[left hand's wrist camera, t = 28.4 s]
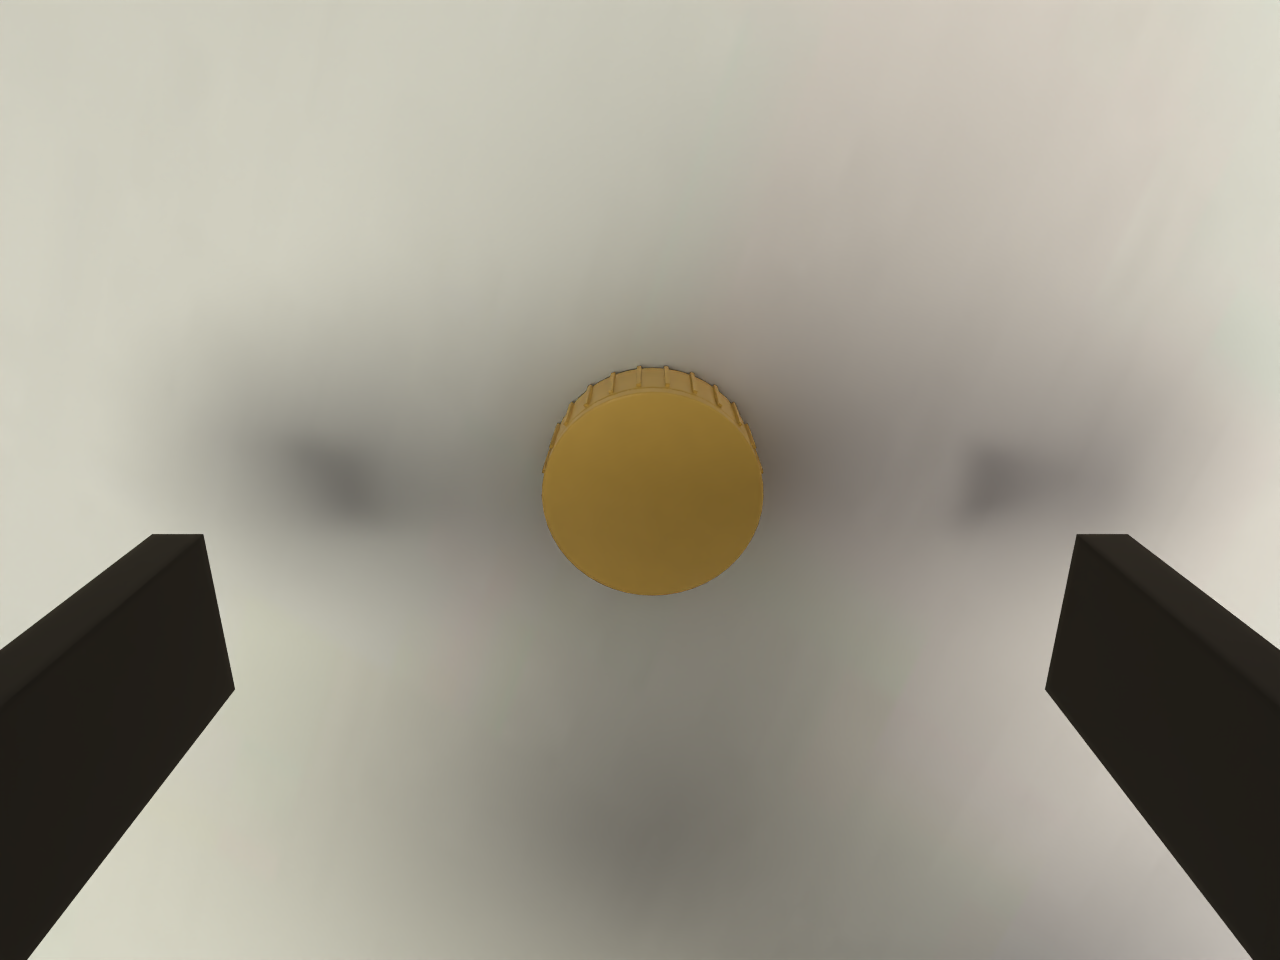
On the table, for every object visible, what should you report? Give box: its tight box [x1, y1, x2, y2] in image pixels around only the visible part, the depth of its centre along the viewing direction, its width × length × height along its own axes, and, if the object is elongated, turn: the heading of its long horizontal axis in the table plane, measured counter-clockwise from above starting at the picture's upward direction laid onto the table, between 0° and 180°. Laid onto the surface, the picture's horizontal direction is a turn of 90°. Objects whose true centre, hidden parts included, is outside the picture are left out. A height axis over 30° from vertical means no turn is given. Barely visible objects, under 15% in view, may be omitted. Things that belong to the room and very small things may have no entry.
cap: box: [542, 366, 763, 595], centre depth 17 cm, size 4×4×2 cm
